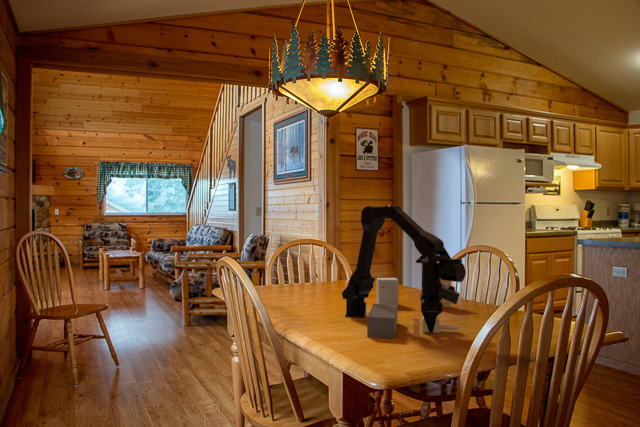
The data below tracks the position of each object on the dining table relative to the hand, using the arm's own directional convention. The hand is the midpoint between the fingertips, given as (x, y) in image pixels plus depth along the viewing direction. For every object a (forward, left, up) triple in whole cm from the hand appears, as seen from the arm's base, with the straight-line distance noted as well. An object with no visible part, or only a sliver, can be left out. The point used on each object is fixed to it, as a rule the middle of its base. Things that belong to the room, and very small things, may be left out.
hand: (430, 328), depth 148 cm
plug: (+3, 0, -1) cm, 3 cm away
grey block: (-15, 0, -1) cm, 15 cm away
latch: (-4, -9, +2) cm, 11 cm away
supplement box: (+4, +40, -1) cm, 40 cm away
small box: (-16, +40, -1) cm, 43 cm away
